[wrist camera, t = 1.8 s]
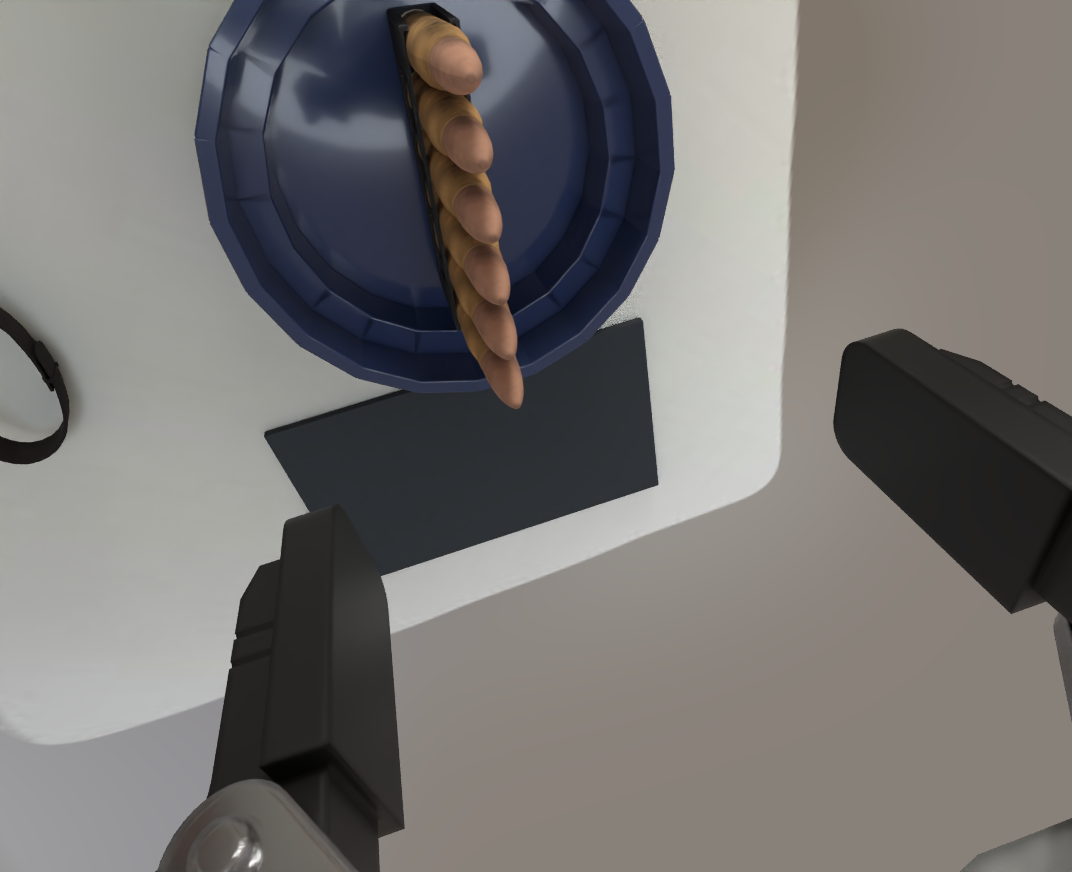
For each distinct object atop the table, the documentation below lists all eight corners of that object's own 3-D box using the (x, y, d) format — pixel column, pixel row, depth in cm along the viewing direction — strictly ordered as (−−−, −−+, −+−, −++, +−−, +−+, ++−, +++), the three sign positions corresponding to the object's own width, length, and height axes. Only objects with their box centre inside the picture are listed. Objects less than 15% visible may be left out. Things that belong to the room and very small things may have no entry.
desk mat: (353, 580, 39) (353, 585, 38) (264, 431, 31) (263, 436, 31) (656, 481, 40) (658, 485, 40) (640, 317, 33) (643, 320, 32)
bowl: (325, 377, 30) (323, 439, 26) (126, -32, 20) (73, -33, 16) (638, 283, 32) (683, 329, 28) (598, -146, 22) (658, -173, 17)
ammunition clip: (481, 280, 29) (549, 424, 20) (441, 287, 29) (491, 438, 19) (437, 2, 23) (507, 20, 13) (385, 8, 22) (420, 32, 13)
